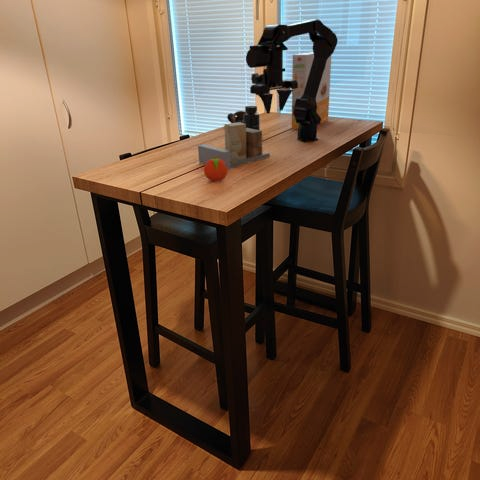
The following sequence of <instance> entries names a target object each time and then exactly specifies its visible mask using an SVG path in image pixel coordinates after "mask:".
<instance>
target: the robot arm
mask: <svg viewBox="0 0 480 480" xmlns="http://www.w3.org/2000/svg"><path fill="white" fill-rule="evenodd" d="M306 34H308V36H309V40H310V41H311V42H312V43H313V44H312V52H313V53H314V59H313V62H312V66H311V69H310V73H309V76H308V80H307V83H306V87H305V90H304V94H303V96H302V97H301V98H300V99H298V98H297V99H296V101H295V105H294V107H293V109H294V111H293V115H294V117H295V120H296V123H300V124H299V128H298V130H297V137H296V139H297V140H300V141H301V142H304V143H305V142H313V141H319V138H318V137H317V131H318V129H317V127H318V126H319V125H321V124H320V122H321V118H320V116H319V115H318V114H317V113H316V111H317V103H316V96H317V92H318V89H319V85H320V82H321V79H322V75H323V72H324V68H325V65H326V62H327V59H328V58H329V57H330V56H331V57H332V55H333V54H334V52H335V50H336V47H337V45H338V37H337V35H336V33H335V32H334V31H333V30H332V29H331V28H330V27H328V26H326V25H325V24H324V23H323V22H322V21H321V20H320V19H319V18H315V19H314V18H313V19H308V20H305V21H301V22H300V21H299V22H296V23H291V24H268V25H265V27H264V29H263V30H262V34H261V36H260V38H259V40H258V43H257V44H256V45H249V49H248V51H247V53H246V56H245V61H246V65H247V67H249V68H251V69H253V68H263V72H262V74H259V73H257V72H256V73H253V74H251V77H250V79H251V83H252V84H251V85H250V91H249V92H250V93H249V94H252V95H254V94H255V95H256V96H258V97H259V98H260V99H261V102H262V104H263V106H264V109H265V111H266V114H270V113H271V109H272V101H273V96H274V94H273V93H271V91H273V90H276V93H277V95H278V107H279V112H282V111H283V110H284V108H285V106H286V103H288V100H289V98H290V96H291V95H292V92H293V90H292V89H296V88H298V82H297V81H296V80H292V79H284V78H283V75H284V72H286V68H285V67H284V63H283V62H284V61H283V60H284V58H283V57H284V53H283V51H288V50H289V48H288V47H287V46H286V45H285V42H287V41H289V40H290V38H293V37H298V36H301V35H306ZM264 67H265V68H264Z"/></svg>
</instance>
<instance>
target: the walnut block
mask: <svg viewBox="0 0 480 480" xmlns="http://www.w3.org/2000/svg"><path fill="white" fill-rule="evenodd" d="M261 154H263V131H262V130H255V129H250V128H246V159H247V158H251V157H254V156H258V155H261Z"/></svg>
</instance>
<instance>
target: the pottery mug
mask: <svg viewBox="0 0 480 480" xmlns="http://www.w3.org/2000/svg"><path fill="white" fill-rule="evenodd" d="M245 113H246V111H245V110H237V111H236V112H234V113H228V114H227V116H226V118H227V120H228V122H230V123H239V122H241V123H243V115H244V114H245Z"/></svg>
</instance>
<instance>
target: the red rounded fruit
mask: <svg viewBox="0 0 480 480" xmlns="http://www.w3.org/2000/svg"><path fill="white" fill-rule="evenodd" d="M203 172H204V175H205V177H206V179H208V181H211V182H214V183H217V182H221V181H223V180H224V179H225V178H226V177H227V174H228V170H227V166H226V164H225V162H224V161H223V160H221V159H219V158H212V159H210V160H209V161H207V163H206V164H204V167H203Z"/></svg>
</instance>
